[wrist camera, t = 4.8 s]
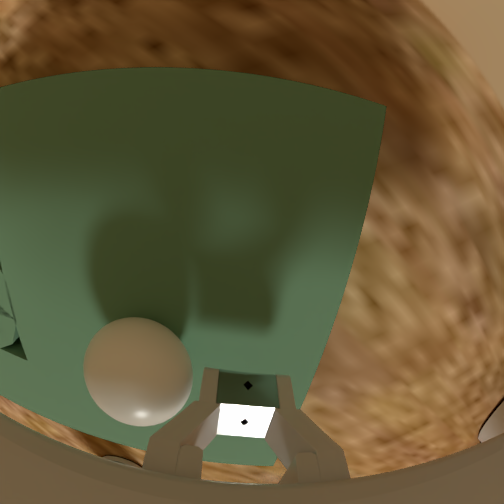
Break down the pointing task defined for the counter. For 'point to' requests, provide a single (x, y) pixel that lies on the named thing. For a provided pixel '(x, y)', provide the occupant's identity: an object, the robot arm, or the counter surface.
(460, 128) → the counter surface
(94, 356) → the golf ball
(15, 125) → the putting board
